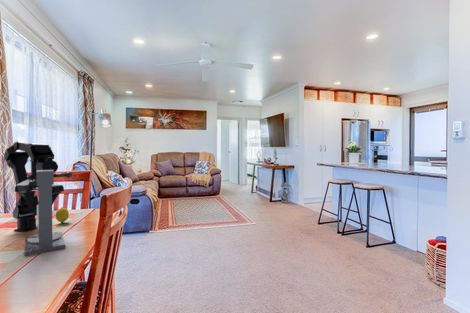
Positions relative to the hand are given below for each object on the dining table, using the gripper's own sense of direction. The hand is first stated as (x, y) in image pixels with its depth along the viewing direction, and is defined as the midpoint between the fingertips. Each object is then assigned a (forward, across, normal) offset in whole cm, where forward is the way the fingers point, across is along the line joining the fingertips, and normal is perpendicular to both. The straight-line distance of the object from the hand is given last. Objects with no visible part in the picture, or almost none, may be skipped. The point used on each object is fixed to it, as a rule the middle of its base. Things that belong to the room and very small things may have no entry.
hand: (39, 208), depth 111 cm
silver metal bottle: (+10, +9, -7) cm, 15 cm away
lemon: (+12, -5, +18) cm, 22 cm away
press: (+12, +12, -8) cm, 19 cm away
